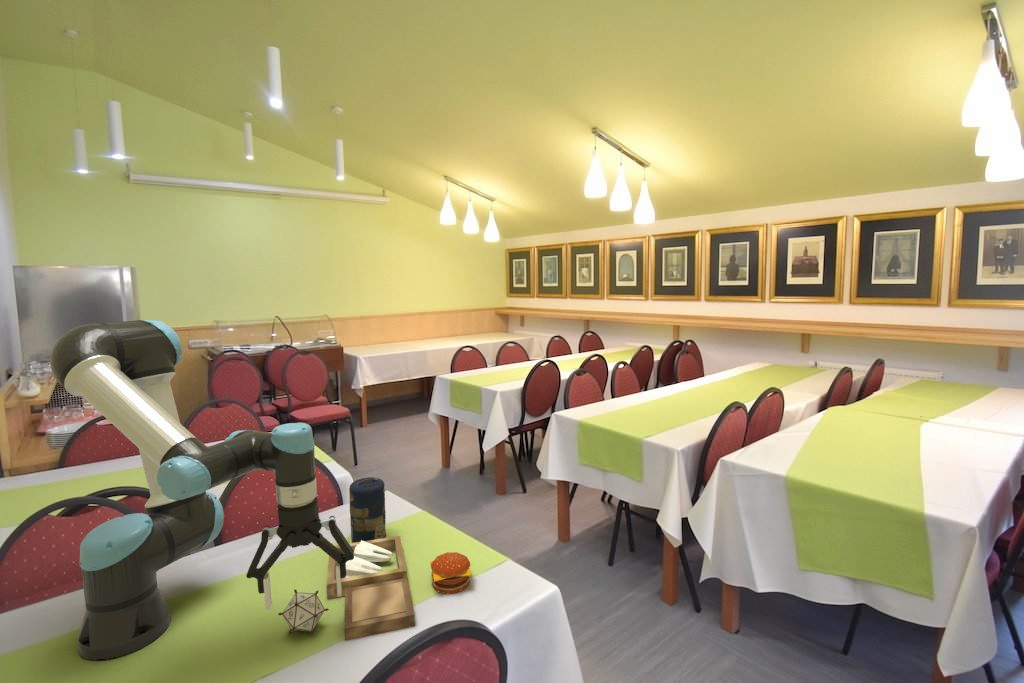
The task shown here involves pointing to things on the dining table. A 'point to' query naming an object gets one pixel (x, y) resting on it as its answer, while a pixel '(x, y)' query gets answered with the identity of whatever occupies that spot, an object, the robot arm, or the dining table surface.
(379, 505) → the canister
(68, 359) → the robot arm
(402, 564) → the oak frame
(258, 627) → the dining table surface
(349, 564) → the white folded napkins
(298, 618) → the game die
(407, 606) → the walnut board
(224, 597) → the dining table surface
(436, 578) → the hamburger
